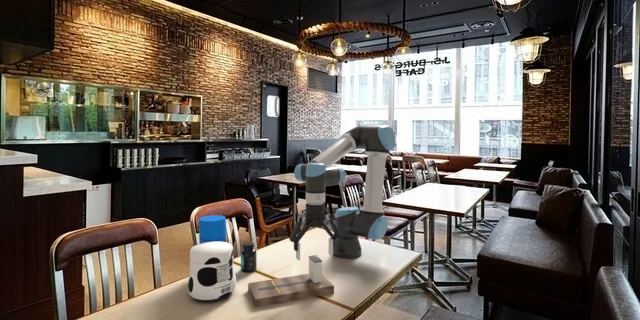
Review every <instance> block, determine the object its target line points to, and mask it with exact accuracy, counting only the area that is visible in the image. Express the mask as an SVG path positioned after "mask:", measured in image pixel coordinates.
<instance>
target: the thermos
mask: <svg viewBox="0 0 640 320" xmlns="http://www.w3.org/2000/svg"><path fill="white" fill-rule="evenodd" d="M198 233H199V234H198V235H199V237H198V239H199V240H198V241H199V243H198V244H201V243H206V242H227V219H226V216H224V215H219V214H218V215H217V214H216V215H215V214H213V215H212V214H211V215H206V216H202V217H200V218H199V220H198Z"/></svg>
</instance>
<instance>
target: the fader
mask: <svg viewBox="0 0 640 320" xmlns="http://www.w3.org/2000/svg"><path fill="white" fill-rule="evenodd" d="M322 264H323V260H322V259H321V258H320V257H319V256H318V255H317V254H313V255H308V274H309V278H310V279H311V280H312V281H313V282H314V283H318V282H322V274H323V273H322V272H323V271H322V269H323V268H322V267H323V266H322Z"/></svg>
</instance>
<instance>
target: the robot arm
mask: <svg viewBox="0 0 640 320" xmlns="http://www.w3.org/2000/svg"><path fill="white" fill-rule="evenodd" d="M395 134H396V133H395V132H394V130H393V128H392V127H391V126H389V125H382V124H378V125H377V124H376V125H374V124H373V125H372V124H371V125H366V124H365V125H363V124H362V125H357V126H355V127H353V128H351V129H349V130H348V131H346V132H344V133H343V134H342V135H340V136H339V138H338V140H337V141H335V143H333V144H331V145H330V146H329V147H328V148H327V147H326V149H325V150H323V151H322V152H320V154H318V155H317V156H315V157H314V158H313V159H311V160H310V161H308V162H307V163H299V164H297V165H296V166H295V168H294V172H293V174H294V178H295V179H296V181H298V182H303V183H305V202H306V203H305V214H304V215H305V216H301V215H298V216H297V219H296V223H295V225H294V227H293V230H291V234H290V235H289V238H288V240H289V241H290V242H291V243H293V250H294V252H295V259H297V261H301V242H300V241H301V239H302V238H303V237H304V236H305V234H306V233H307V231H308V230H310V228H320V227H322V229H323V230H324V231H325V232H326V234H328V236H329V237H328V250H327V251H328V253H327V254H328V255H329V256H330V257H333V256H334V257H337V258H341V259H354V258H357V257H358V258H359V257H360V256H361V255H362V247H361V243H360V240H359V237H362V238H367V239H369V240H375V241H379V240H381V239H383V238H384V236H385V235H386V233H387V231H388V227H389V220H388V219H389V218H388V216H385V210H384V209H383V208H382V204H383V195H384V193H383V192H384V181H385V172H386V163H387V160H386V159H387V157H388V156H390V153H391V152H390V151H393V150H394V149H395V146H396V143H397V141H396V139H397V138H396V135H395ZM360 149H361V150H365V151H364V153H365V154H366V155H367V163H366V172H365V174H366V175H365V185H364V194H363V196H364V197H363V204H362V206H361V207H360V208H359V207H357V206H345V207H340V208H337V209H336V211H335V214H334V215H335V216H334V218H333V214H331V213H327V214H325V213H326V187H330V186H337V185H340V184H342V183H344V181H346V172H345V170H344V168H343V167H341V166H338V165H337V166H336V165H334V164H336V163H337V162H338V161H340V160H341V159H342V158H344V157H345V156H346V155H347V154H348V153H352V152H354V151H356V150H360ZM326 220H327V221H328V223H329V226H330V228H331V230H330V228H329V227H328V226H327V225H326V223H325V221H326ZM304 221H305V223H304ZM302 223H304V224H302ZM302 225H303V226H302Z"/></svg>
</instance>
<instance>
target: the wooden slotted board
mask: <svg viewBox="0 0 640 320" xmlns="http://www.w3.org/2000/svg"><path fill="white" fill-rule="evenodd" d="M247 291H248V293H249V295H250V298H251V300H252V303H253V305H254V307H255V308H260V307H266V306H272V305H277V304H282V303H288V302H292V301H293V302H294V301H299V300H305V299H309V298H310V299H311V298H315V297H321V296H326V295H333V294H335V284H333V283H332V282H331V281H330V280H329V279H328V278H327V277H326V276H325V275H324V274H323V273H322V282H318V283H314V282H313V281H312V280H311V279H310V278H309V273H304V274H299V275H298V274H297V275H292V276H285V277H279V278H273V279H266V280H259V281H253V282H249V283H247Z"/></svg>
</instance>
